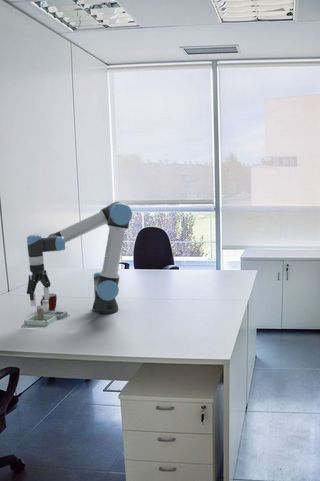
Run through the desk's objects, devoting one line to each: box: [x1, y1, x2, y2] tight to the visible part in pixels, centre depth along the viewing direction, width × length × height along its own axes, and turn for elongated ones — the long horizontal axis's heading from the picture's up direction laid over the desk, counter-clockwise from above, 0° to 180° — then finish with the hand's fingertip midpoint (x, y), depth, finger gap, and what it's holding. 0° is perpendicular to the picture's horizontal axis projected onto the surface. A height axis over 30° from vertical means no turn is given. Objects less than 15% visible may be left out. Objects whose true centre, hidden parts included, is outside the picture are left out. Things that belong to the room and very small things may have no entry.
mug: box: [40, 293, 58, 311], centre depth 281 cm, size 11×8×10 cm
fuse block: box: [43, 310, 71, 320], centre depth 268 cm, size 18×8×3 cm, turn 73°
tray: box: [23, 314, 58, 327], centre depth 258 cm, size 14×11×3 cm
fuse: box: [41, 299, 49, 314], centre depth 269 cm, size 4×4×9 cm
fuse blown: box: [35, 305, 45, 321], centre depth 258 cm, size 4×4×9 cm
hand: (40, 302), depth 257 cm, fingers open, 13 cm apart
